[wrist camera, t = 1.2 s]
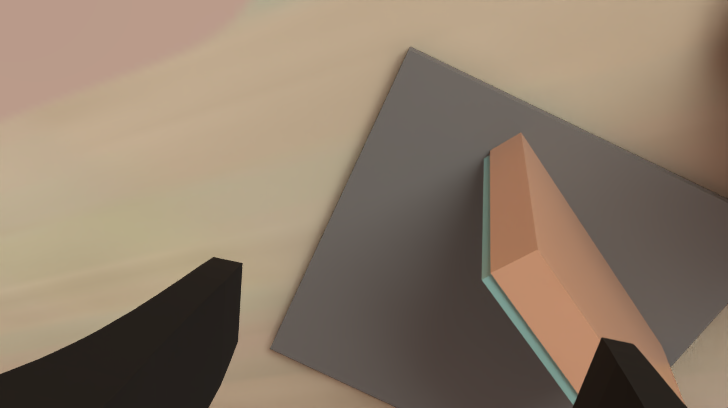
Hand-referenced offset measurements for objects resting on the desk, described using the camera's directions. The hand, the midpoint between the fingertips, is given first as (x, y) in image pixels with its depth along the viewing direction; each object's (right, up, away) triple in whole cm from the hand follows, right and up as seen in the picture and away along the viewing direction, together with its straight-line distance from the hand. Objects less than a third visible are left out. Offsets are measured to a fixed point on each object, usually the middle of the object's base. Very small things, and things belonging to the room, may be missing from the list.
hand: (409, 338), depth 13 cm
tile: (+7, +1, +10) cm, 12 cm away
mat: (+4, -1, +12) cm, 12 cm away
